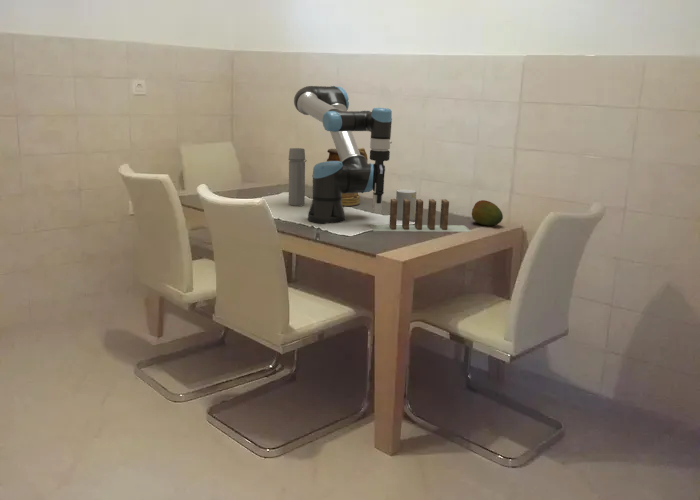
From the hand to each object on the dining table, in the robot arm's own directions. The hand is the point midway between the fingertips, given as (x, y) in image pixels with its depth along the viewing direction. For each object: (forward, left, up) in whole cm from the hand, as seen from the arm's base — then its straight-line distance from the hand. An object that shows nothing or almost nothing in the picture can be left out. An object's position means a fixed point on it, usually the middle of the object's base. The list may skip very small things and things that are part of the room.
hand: (376, 209), depth 264 cm
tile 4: (+21, +4, -6) cm, 22 cm away
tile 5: (+26, +5, -6) cm, 27 cm away
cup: (+8, +18, -7) cm, 21 cm away
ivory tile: (0, 0, -1) cm, 1 cm away
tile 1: (+7, -2, -6) cm, 10 cm away
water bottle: (-43, +31, -7) cm, 53 cm away
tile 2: (+12, 0, -6) cm, 13 cm away
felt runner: (+17, +2, -7) cm, 18 cm away
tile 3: (+16, +2, -6) cm, 18 cm away
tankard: (-25, +45, -7) cm, 52 cm away
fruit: (+41, +20, -7) cm, 46 cm away
